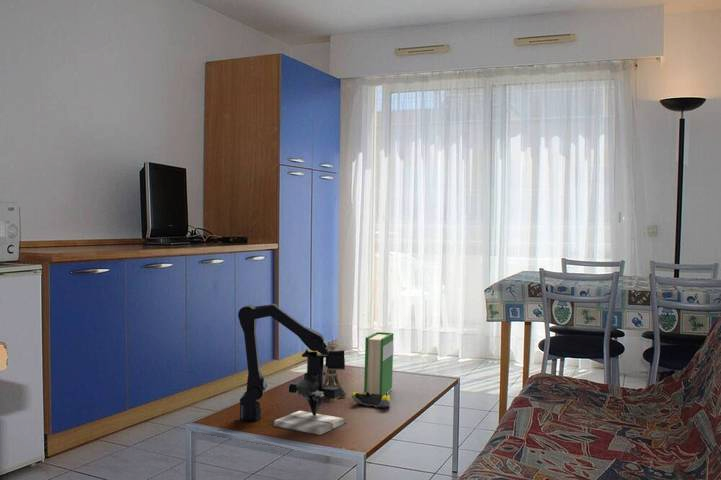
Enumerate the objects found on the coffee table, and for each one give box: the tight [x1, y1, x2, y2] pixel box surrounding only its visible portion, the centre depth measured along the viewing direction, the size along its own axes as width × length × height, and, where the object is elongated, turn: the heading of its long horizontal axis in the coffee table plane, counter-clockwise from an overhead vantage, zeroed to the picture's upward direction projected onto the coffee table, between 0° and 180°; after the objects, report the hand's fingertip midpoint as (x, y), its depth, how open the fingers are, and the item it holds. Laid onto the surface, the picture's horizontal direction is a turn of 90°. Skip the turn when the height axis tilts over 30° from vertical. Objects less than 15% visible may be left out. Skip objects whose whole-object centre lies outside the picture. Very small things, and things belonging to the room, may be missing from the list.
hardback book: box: [363, 331, 394, 396], centre depth 271 cm, size 18×7×24 cm, turn 164°
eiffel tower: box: [323, 336, 349, 403], centre depth 261 cm, size 11×11×25 cm
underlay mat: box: [274, 422, 347, 436], centre depth 221 cm, size 19×17×1 cm
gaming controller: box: [351, 391, 391, 408], centre depth 250 cm, size 15×6×10 cm
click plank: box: [287, 410, 345, 430], centre depth 224 cm, size 18×7×2 cm, turn 61°
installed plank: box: [273, 415, 333, 436], centre depth 217 cm, size 18×8×2 cm, turn 61°
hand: (314, 414), depth 226 cm, fingers closed
